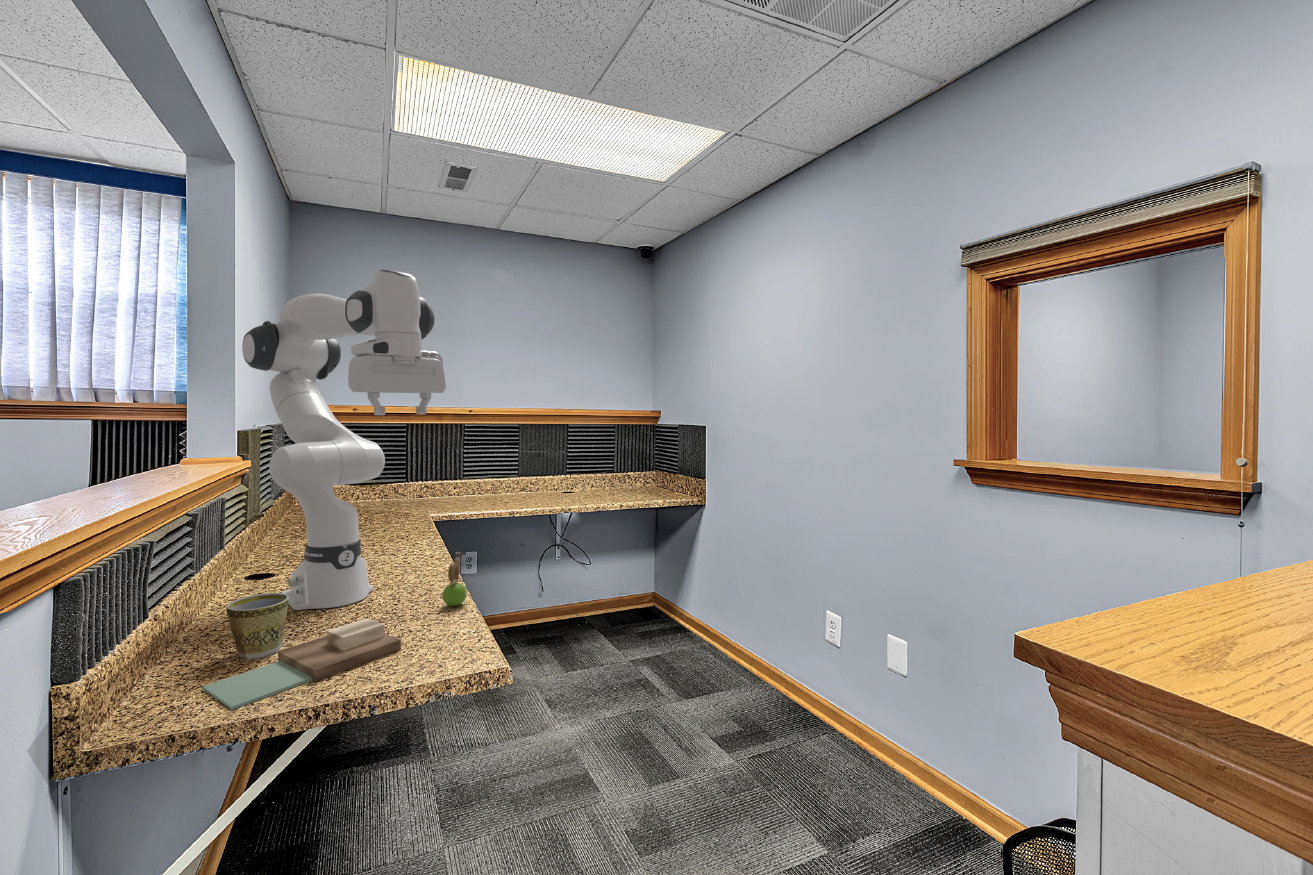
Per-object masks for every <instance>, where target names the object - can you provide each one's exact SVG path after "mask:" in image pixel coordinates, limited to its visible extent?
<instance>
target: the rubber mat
mask: <svg viewBox="0 0 1313 875" xmlns="http://www.w3.org/2000/svg"><path fill="white" fill-rule="evenodd" d="M311 681H313V680H312V677H310V676H309V675H307V674H305V673H303V672H301V671H299V670H297V669H296V668H294V667H292V666H290V665H288V664H286V663H284V662H283V661H278V660H277V661H275V662H273V663H272V662H271V663H268V664H266V665H263V666H260V667H257V668H253V669H251V670H248V671H247V670H246V671H245V672H242V673H239V674H235V675H233V676H229V677H225V679H224V678H223V679H221V680H218V681H214V682H211V683H208V684H206V685H203V686H202V690H203V691H204V692H206V693H207V694H209V695H210V696H212V697H213V698H214V699H216V700H217V701H218V702H220V703H221V704H223V705H224V706H225V707H227V709H230V711H232V710H236V709H238V708H241V707H244V706H247V705H250V704H253V703H254V702H258V701H260V700H262V699H265V698H268V697H272V696H274V695H276V694H280V693H282V692H285V691H286V690H289V689H292V688H295V687H297V686H301V685H304V684H306V683H309V682H311Z"/></svg>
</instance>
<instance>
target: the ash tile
mask: <svg viewBox="0 0 1313 875" xmlns="http://www.w3.org/2000/svg"><path fill="white" fill-rule="evenodd" d="M384 633H385V624H384V623H381V622H379V621H377V620H373V619H371V618H368V617H367V618H366V617H365V618H364V619H360V620H358V621H354V622H350V623H346V624H345V625H344V624H343V625H342V626H338V627H334V628H332V629H328V630H326V636H327V644H330V645H332V646H334V647H336V648H338V649H341V650H343V651H345V650H348V649H350V648H353V647H356V646H359V645H362V644H365V643H368V642H371V641H374V640H377V639H379V638H382V637H384Z"/></svg>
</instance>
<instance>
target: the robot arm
mask: <svg viewBox="0 0 1313 875" xmlns="http://www.w3.org/2000/svg"><path fill="white" fill-rule="evenodd" d="M434 325H435V314H434V311H433V309H432V307H431V306H430V304H429V303H428V301H427V300H426V299H425V298H424V297H422V296H420V290H419V285H418V282H417V278H416V277H415V276H413V275H412V274H410V273H408V272H407V273H406V272H402V271H397V270H392V269H391V270H390V269H380V270H378V271H376V273H375V274H374V277H373V281H372V282H371V283H369V284H368V285H367V286H366V287H364V288H363V289H361V290H356V291H354V292H353V293H352V294H351V295H350V296H348V298H347V299H346V298H343V297H340V296H336V295H331V294H325V293H318V292H317V293H316V292H315V293H307V294H303V295H299V296H296V297H294V298H292V299H290V300H288V301H287V302H286V303H285V304H284V305H283V306H282V308H281V310H280V320H279V321H278V322H276V323H272V322H271V321H270V320H266V321H264V322H263V323H262V324H261V325H258V326H256V327H253V328H251V329H250V330H249V331H248V332H246V333H245V334H244V336H243V340H242V345H241V350H242V357H243V359H244V361H245V363H247V365H248V367H250V368H251V369H255V370H260V371H265V372H267V371H274V372H279V373H278V374H276V375H275V376H274V377H273V378H272V379H271V381H270V383H269V391H270V392H269V393H270V398H271V401H272V405H273V409H274V410H275V413H276V414H277V417H278V419H279V421H280V422H281V425H282V426H283V429H284V431H285V432H286V435H287V436H288V438H289V439H290V440H291V441H293V442H294V443H293V444H289V445H285V446H282V447H279V448H277V449H276V450H275V451H274V453H272V456H271V458H270V460H269V464H268V467H269V474H270V477H271V479H272V480H273V482H275V484H276V485H277V486H279V487H280V488H282V489H283V490H285V491H287V492H288V493H290V494H291V495H292V496H293V497H294V498H295V499H296V500H297V502H298V503H299V505H300V506H301V509H302V511H303V514H304V519H305V525H306V526H305V527H306V529H305V530H306V540H307V541H306V542H307V544H305V545H303V546H304V547H305V548H304V549H303V550H304V552H303V553H304V554H303V560H302V562H301V563H300V564H299V565H298V566H297V567H296V568H295V570H294V571H293V572H292V573H291V577H288V579H287V584H288V587H289V588H288V589H287V590H284V591H282V592H281V594H286V595H288V597H289V600H288V606H290V607H291V608H292V609H293V610H294V611H302V610H309V609H313V610H314V609H330V608H337V607H343V606H347V605H351V604H355V603H358V602H360V601H362V600H364V599H366V598H367V597H368V595H369V594H370V593H371V592H373V591H374V589H375V588H374V585H373V584H370V583H369V575H368V574H369V573H368V572H369V571H368V564H367V560H366V559H365V558H364V557H362V556H361V554H362V548H363V547H362V540H361V538H360V537H359V536H360V535H359V533H360V530H359V513H358V510H357V508H356V507H355V506H354V505H353V504H351V503H350V502H348V501H345V500H343V499H340V498H338V497H337V496H336V493H335V489H334V488H335V487H336V486H344V485H352V484H353V485H354V484H361V483H364V482H367V481H370V480H374V479H375V478H378V477H380V475H381V474H382V472H383V470H384V469H385V464H386V456H385V453H384V452H383V449H382V448H381V447H380V446H379V444H378V443H376V442H374V441H372V440H369V439H366V438H364V437H362V436H360V435H358V434H357V433H354V432H353V431H352V430H350V429H349V428H347V427H346V426H345V425H344V424H342V423H341V422H340V421H338V419H337V418H336V417H335V415H334V414H333V412H332V411H331V410H332V409H330V407H329V405H328V403H327V401H326V400H325V398H324V396H323V395H322V393H321V392H320V390H319V388H318V386H317V380H320V381H321V380H325V379H327V377H328V375H329V374H330V373H332V372H333V371H334V370H335V369H336V368H337V367H338V365H339V364H340V361H341V357H342V352H341V349H342V348H341V345H340V343H339V341H338V340H337V339H339V338H344V337H351V336H358V335H359V336H360V335H364V336H373V337H375V338H374V339H370V340H367V341H365V342H360V343H356V344H353V345H352V346H351V347H350V350H351V351H350V352H351V354H352V355H353V357H352V358H351V359H350V360H349V364H348V377H347V381H348V388H349V389H350V390H351V391H352V393H367V400H369V402H370V404H371V405H372V407H373V414H374V416H385V415H386V406H382V405H381V402H380V400H379V399H380V398H381V395H380V394H381V393H383V394H384V393H385V394H386V393H389V394H392V393H393V394H394V393H398V394H419V399H420V400H421V401H420V403H419V405H416V406H415V414H416V415H427V407H428V404H429V403H430V401H431V400H432V394H442V393H444V392H445V391H446V388H447V382H446V377H445V376H446V375H445V370H444V359H443V357H442V356H441V355H440V354H439V353H438V352H437V351H431V350H429V351H427V350H422V340H424V339H425V338H426V337H427V336H428V335H429V334H430V333H431V331H433V329H434V327H435V326H434Z"/></svg>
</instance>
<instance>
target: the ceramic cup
mask: <svg viewBox="0 0 1313 875" xmlns="http://www.w3.org/2000/svg"><path fill="white" fill-rule="evenodd" d="M281 593H282V592H281ZM281 593H280V592H279V593H278V592H276V593H275V592H274V593H273V592H271V593H261V594H255V595H254V594H253V595H249V596H245V597H241V598H238V599H236V600H233V601H231V602H229V603H228V604H227V605H226V606H225V610H226V613H227V614H226V616H227V618H228V619H227V620H228V622H229V626H230V629H231V632H232V635H233V636H232V637H233V639H234V643H235V647H236V650H237V653H238V654H237V655H238V656H239V657H240V658H243V659H245V660H253V659H254V660H255V659H262V658H264V657H267V656H270V655H274V654H275V653H278V651H280V649H281V646H282V644H283V638H284V632H285V625H286V624H285V623H286V618H287V613H288V608H289V607H288V606H289V604H288V600H289V597H288V595H286V594H281Z"/></svg>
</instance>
